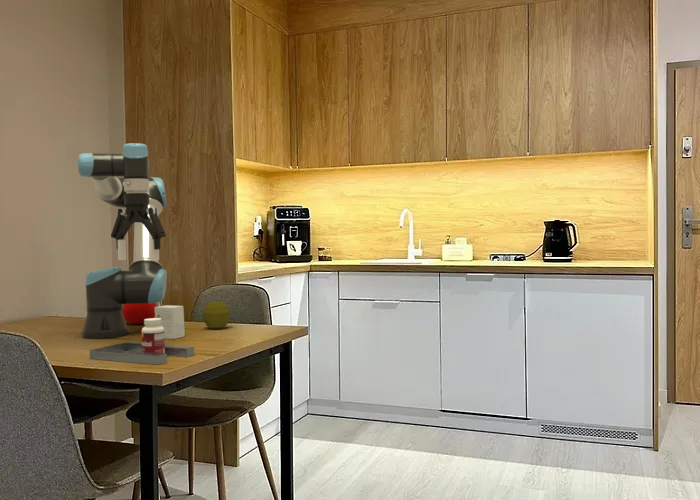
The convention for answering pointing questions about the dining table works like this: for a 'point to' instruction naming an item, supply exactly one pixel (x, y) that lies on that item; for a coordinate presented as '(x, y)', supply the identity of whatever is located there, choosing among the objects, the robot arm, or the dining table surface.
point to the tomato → (138, 312)
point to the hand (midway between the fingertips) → (138, 260)
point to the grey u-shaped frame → (139, 353)
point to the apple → (216, 315)
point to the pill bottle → (153, 336)
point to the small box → (171, 320)
